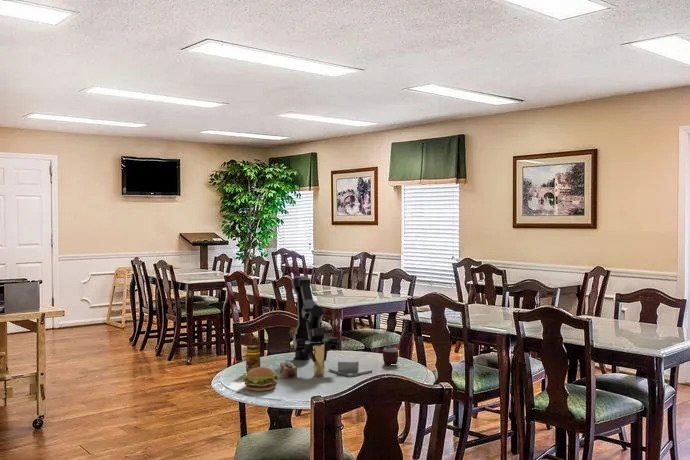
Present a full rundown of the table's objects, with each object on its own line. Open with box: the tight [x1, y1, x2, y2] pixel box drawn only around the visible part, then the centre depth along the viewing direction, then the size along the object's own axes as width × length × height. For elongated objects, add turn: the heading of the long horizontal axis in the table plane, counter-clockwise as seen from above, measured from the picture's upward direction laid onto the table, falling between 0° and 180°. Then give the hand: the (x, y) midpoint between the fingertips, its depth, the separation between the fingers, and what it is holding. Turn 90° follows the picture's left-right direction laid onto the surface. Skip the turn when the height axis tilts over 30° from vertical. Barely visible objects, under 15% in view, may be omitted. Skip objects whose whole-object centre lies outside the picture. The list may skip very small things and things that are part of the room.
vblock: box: [328, 357, 373, 378], centre depth 283 cm, size 14×13×5 cm
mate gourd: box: [382, 330, 399, 367], centre depth 297 cm, size 8×8×15 cm
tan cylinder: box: [313, 345, 325, 378], centre depth 276 cm, size 4×4×13 cm
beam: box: [279, 361, 298, 380], centre depth 277 cm, size 12×5×4 cm, turn 16°
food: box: [241, 366, 279, 392], centre depth 257 cm, size 14×14×8 cm
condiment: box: [245, 344, 261, 374], centre depth 280 cm, size 7×8×12 cm
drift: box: [284, 359, 292, 368], centre depth 277 cm, size 9×2×2 cm, turn 16°
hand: (319, 361), depth 274 cm, fingers closed on tan cylinder, 4 cm apart
